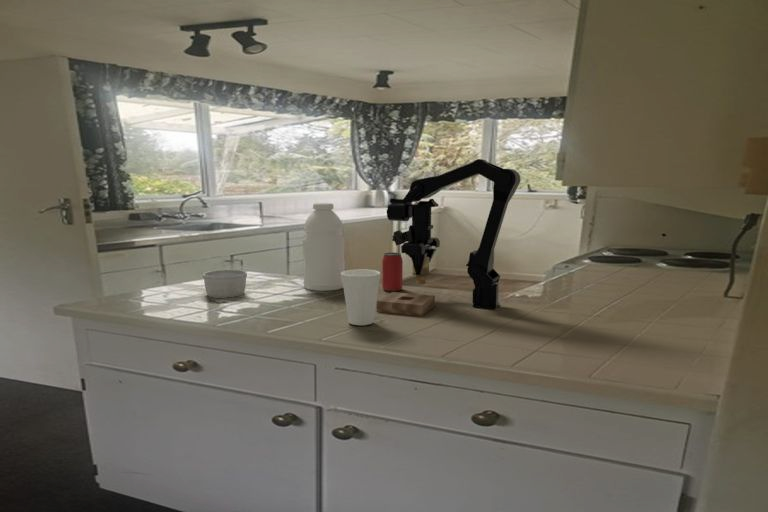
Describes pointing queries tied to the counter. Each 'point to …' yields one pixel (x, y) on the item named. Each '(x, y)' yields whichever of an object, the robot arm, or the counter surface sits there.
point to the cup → (361, 294)
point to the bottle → (323, 249)
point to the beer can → (392, 272)
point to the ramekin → (225, 283)
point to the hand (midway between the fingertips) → (420, 273)
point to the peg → (422, 272)
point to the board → (406, 303)
